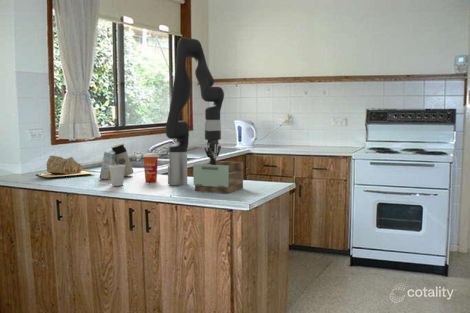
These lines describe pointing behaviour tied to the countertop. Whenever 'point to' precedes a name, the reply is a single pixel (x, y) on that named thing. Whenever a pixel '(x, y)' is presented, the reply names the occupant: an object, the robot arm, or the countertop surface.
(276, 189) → the countertop surface
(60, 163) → the bread loaf on board
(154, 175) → the coffee cup
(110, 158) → the snack box
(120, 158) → the travel mug
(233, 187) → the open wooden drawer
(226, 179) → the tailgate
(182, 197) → the countertop surface
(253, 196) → the countertop surface
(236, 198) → the countertop surface
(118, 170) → the dixie cup
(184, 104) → the robot arm
